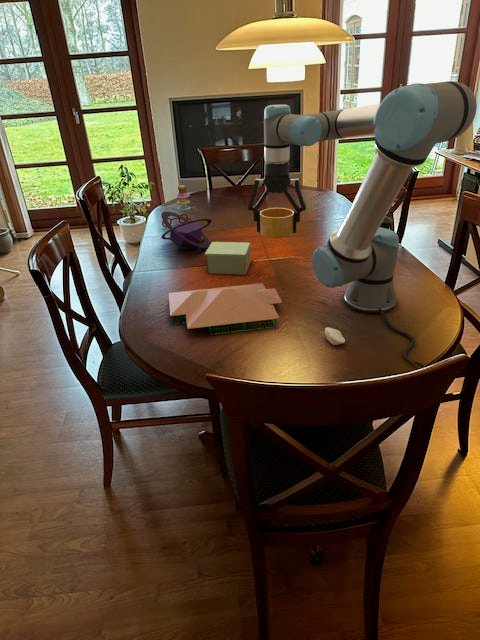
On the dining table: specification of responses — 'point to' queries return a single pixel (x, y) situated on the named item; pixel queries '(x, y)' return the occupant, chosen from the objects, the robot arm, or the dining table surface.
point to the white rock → (334, 336)
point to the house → (225, 306)
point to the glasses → (179, 220)
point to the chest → (229, 264)
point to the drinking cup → (386, 223)
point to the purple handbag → (185, 226)
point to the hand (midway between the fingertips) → (276, 231)
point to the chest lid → (228, 249)
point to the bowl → (276, 222)
